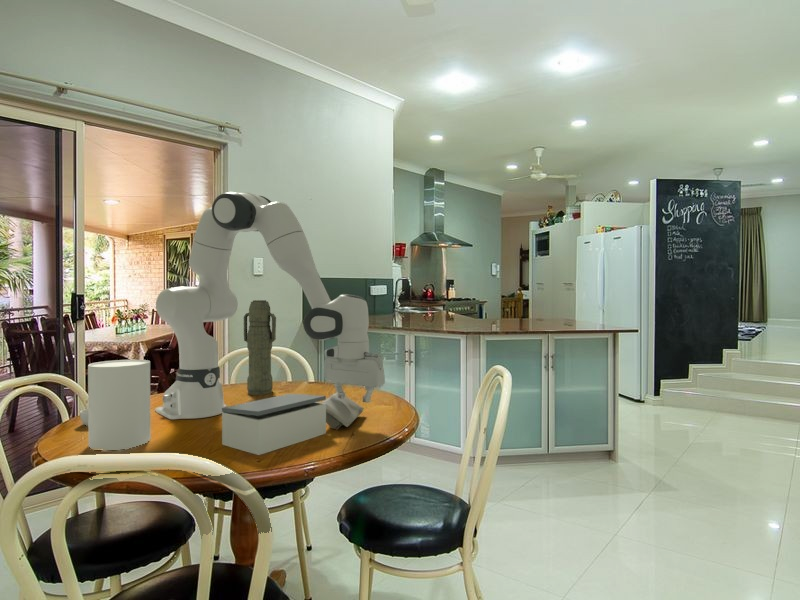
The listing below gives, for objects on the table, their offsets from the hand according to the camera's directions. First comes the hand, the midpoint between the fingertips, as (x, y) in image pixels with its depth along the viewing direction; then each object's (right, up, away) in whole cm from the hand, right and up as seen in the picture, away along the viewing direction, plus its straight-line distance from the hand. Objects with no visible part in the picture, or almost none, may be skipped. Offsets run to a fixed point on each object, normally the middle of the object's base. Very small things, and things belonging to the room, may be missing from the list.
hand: (353, 400), depth 142 cm
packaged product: (0, -6, +1) cm, 6 cm away
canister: (-57, -8, -17) cm, 60 cm away
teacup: (-73, -8, 0) cm, 74 cm away
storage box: (-19, -7, -13) cm, 24 cm away
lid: (-19, +1, -13) cm, 23 cm away
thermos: (-38, -7, +41) cm, 57 cm away
